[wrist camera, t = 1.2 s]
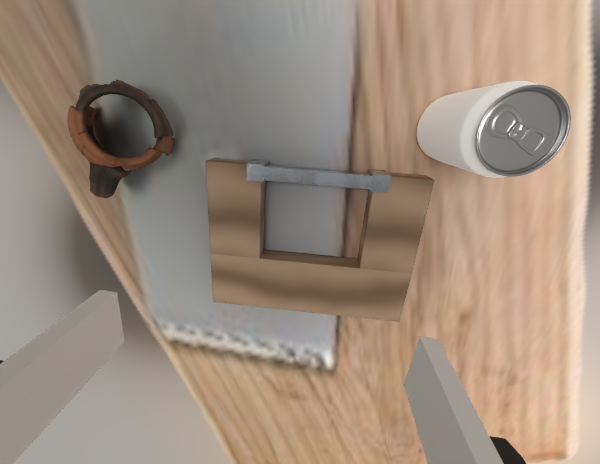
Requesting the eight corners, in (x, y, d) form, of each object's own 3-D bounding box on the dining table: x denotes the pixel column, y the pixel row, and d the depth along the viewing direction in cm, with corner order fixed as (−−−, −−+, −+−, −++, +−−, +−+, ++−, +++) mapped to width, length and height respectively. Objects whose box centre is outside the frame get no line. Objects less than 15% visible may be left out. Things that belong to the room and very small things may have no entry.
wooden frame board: (214, 158, 32) (205, 161, 30) (426, 175, 31) (434, 180, 29) (219, 291, 39) (213, 301, 37) (394, 309, 38) (399, 321, 36)
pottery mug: (87, 78, 31) (64, 54, 24) (179, 110, 35) (183, 98, 28) (70, 186, 32) (44, 194, 25) (161, 203, 37) (160, 214, 30)
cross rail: (253, 159, 32) (246, 163, 29) (384, 170, 31) (390, 175, 29) (253, 175, 33) (246, 180, 30) (381, 186, 32) (387, 192, 29)
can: (441, 81, 28) (519, 55, 17) (494, 114, 29) (603, 110, 17) (402, 141, 30) (448, 154, 19) (452, 171, 31) (524, 199, 20)
